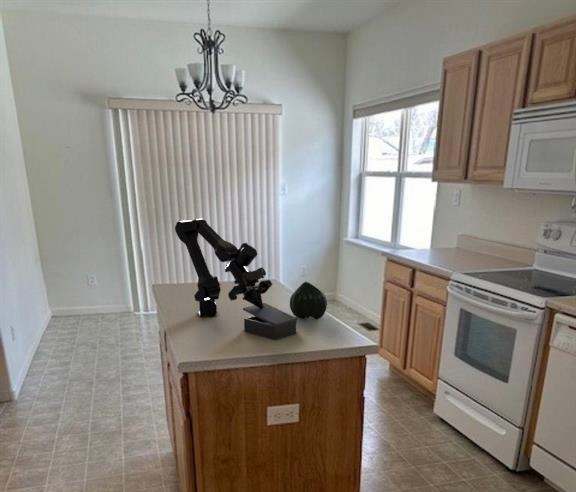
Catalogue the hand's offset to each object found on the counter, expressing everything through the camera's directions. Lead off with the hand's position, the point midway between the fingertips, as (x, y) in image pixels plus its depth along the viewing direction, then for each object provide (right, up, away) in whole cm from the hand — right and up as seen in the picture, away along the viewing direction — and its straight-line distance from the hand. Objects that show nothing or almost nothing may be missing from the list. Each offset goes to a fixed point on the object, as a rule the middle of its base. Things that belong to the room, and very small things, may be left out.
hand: (262, 308), depth 197 cm
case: (+3, -9, +1) cm, 9 cm away
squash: (+18, -1, +21) cm, 27 cm away
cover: (+3, -3, -2) cm, 4 cm away
